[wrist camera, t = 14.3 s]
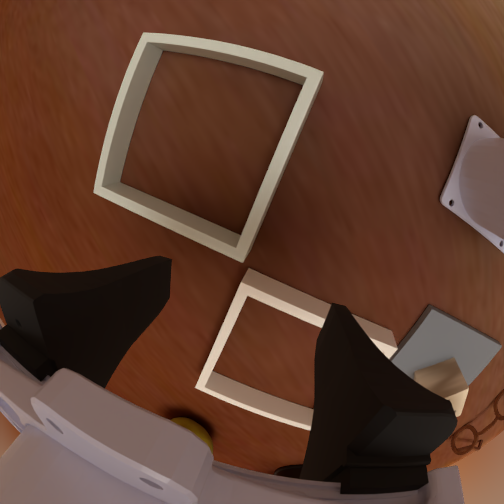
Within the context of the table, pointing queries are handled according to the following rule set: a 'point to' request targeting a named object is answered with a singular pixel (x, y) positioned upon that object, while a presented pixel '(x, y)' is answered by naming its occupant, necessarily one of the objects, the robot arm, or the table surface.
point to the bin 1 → (126, 120)
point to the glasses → (468, 448)
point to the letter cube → (445, 382)
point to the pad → (444, 345)
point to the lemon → (194, 429)
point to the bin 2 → (295, 306)
